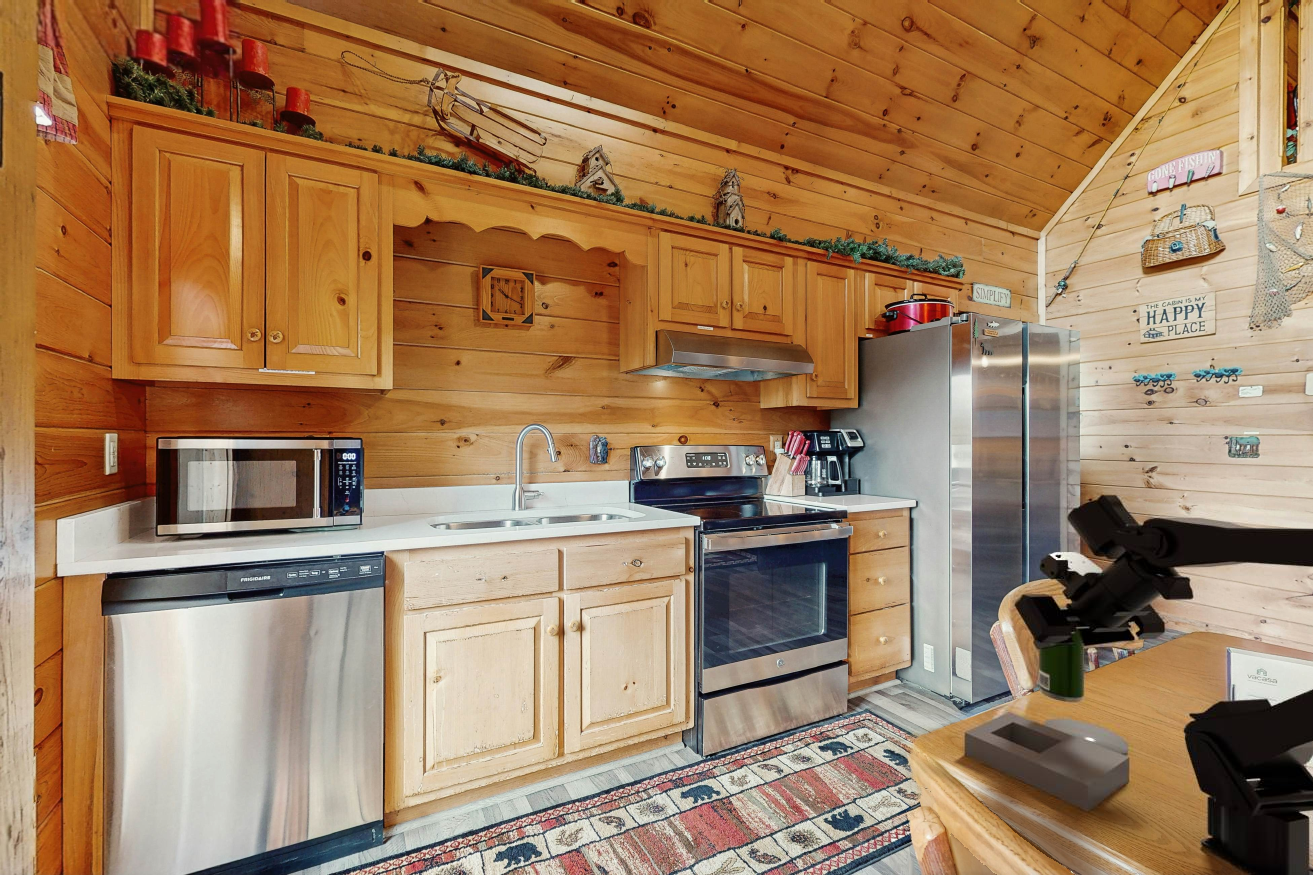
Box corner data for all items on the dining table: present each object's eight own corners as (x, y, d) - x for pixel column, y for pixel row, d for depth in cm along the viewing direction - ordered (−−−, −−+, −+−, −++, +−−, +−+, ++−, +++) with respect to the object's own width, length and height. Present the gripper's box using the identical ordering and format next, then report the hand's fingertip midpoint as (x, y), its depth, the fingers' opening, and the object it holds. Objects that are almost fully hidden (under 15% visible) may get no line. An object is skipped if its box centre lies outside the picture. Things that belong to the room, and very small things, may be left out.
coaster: (1146, 752, 80) (1146, 748, 80) (1091, 761, 78) (1091, 756, 78) (1078, 719, 90) (1078, 715, 90) (1026, 726, 88) (1026, 722, 88)
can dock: (1129, 780, 73) (1129, 756, 73) (1088, 811, 67) (1088, 785, 67) (1009, 732, 86) (1009, 711, 86) (964, 754, 79) (964, 732, 79)
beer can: (1061, 704, 80) (1061, 617, 80) (1029, 688, 85) (1029, 606, 85) (1094, 701, 81) (1094, 615, 81) (1060, 686, 86) (1060, 605, 86)
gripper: (1143, 535, 81) (1075, 595, 92) (1025, 536, 78) (969, 597, 89) (1205, 607, 73) (1122, 663, 84) (1075, 610, 70) (1007, 668, 81)
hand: (1053, 645), depth 85 cm, fingers closed on beer can, 5 cm apart
